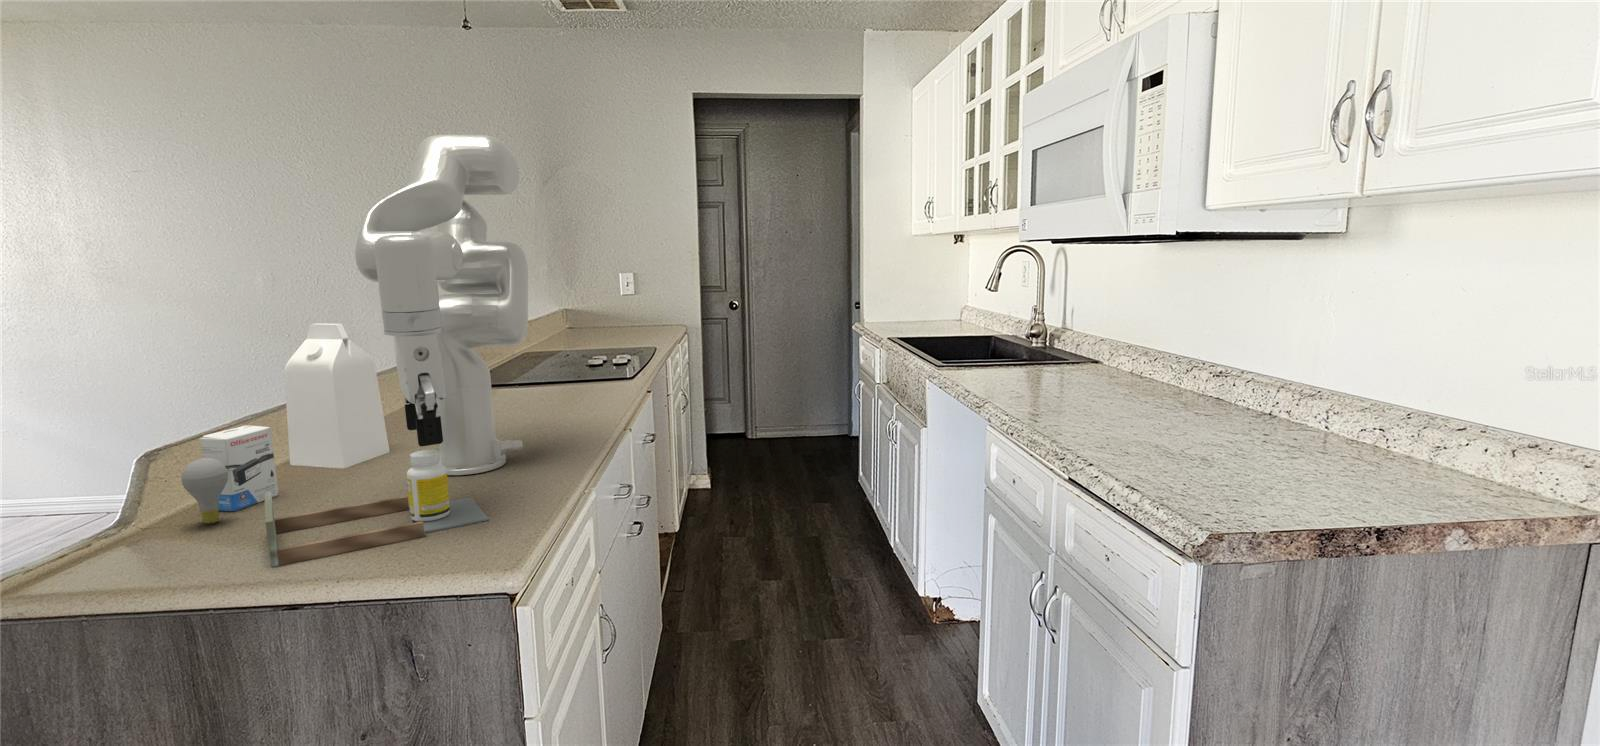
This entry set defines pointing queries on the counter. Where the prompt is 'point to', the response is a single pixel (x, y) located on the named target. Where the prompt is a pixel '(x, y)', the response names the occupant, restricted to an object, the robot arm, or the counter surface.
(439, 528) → the mat
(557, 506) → the counter surface
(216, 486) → the light bulb
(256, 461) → the ink box
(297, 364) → the milk
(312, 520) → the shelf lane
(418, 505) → the supplement bottle
